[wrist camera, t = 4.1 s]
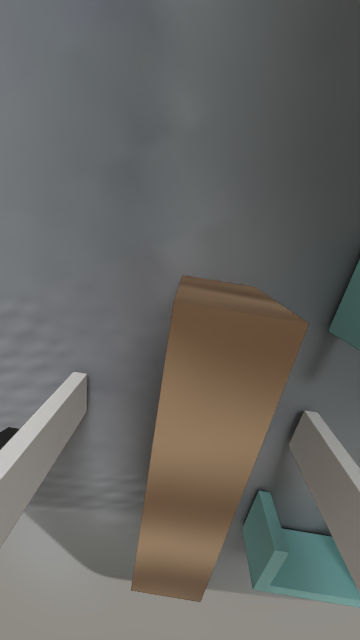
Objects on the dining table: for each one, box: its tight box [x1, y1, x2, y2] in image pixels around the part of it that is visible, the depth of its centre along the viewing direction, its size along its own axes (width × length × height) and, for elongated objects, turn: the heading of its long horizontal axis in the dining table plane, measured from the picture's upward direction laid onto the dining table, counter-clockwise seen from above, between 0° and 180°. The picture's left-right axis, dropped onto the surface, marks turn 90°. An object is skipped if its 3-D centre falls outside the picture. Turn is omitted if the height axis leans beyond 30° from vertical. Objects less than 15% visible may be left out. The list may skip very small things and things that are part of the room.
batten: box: [131, 275, 309, 602], centre depth 10 cm, size 15×4×5 cm, turn 171°
